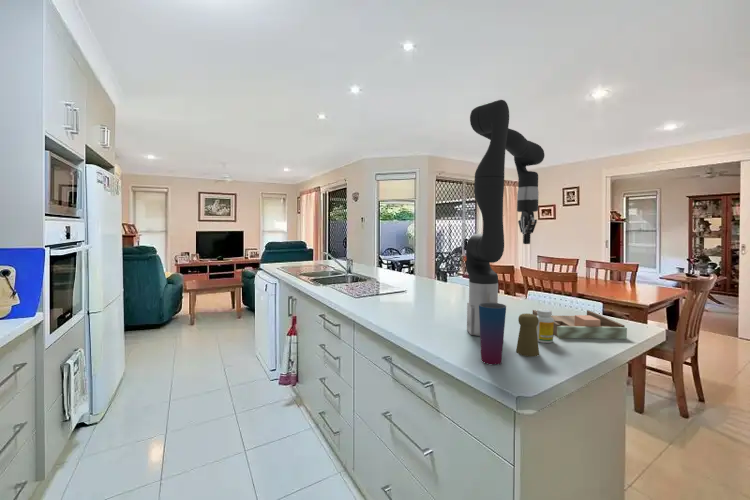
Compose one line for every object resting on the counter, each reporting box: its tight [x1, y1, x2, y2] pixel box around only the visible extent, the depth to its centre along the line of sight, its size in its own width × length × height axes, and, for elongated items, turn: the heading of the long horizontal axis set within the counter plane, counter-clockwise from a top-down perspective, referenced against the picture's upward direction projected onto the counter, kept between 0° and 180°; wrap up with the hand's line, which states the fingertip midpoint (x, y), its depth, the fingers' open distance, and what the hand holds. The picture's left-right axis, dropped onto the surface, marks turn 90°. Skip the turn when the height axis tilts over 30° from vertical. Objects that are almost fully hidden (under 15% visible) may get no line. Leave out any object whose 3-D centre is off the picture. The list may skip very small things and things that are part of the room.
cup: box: [479, 302, 507, 365], centre depth 90 cm, size 7×7×15 cm
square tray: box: [532, 309, 628, 340], centre depth 120 cm, size 21×21×4 cm
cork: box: [515, 313, 540, 358], centre depth 97 cm, size 6×6×11 cm
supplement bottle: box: [536, 308, 554, 344], centre depth 107 cm, size 5×5×10 cm
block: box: [574, 314, 601, 327], centre depth 114 cm, size 5×6×4 cm
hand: (526, 243), depth 134 cm, fingers closed
